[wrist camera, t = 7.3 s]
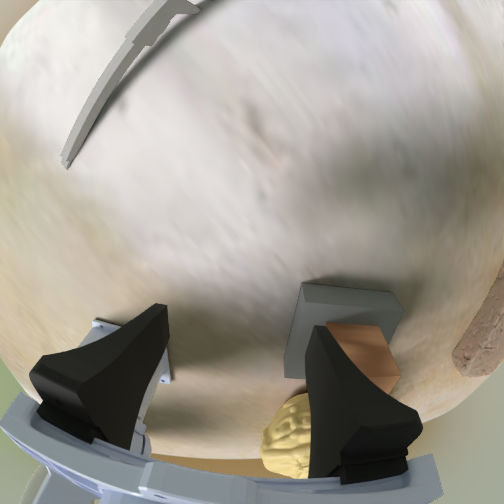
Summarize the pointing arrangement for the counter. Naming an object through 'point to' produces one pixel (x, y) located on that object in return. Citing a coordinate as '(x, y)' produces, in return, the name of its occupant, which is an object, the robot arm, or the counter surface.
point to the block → (367, 352)
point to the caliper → (123, 66)
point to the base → (336, 317)
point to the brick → (483, 336)
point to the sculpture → (289, 439)
